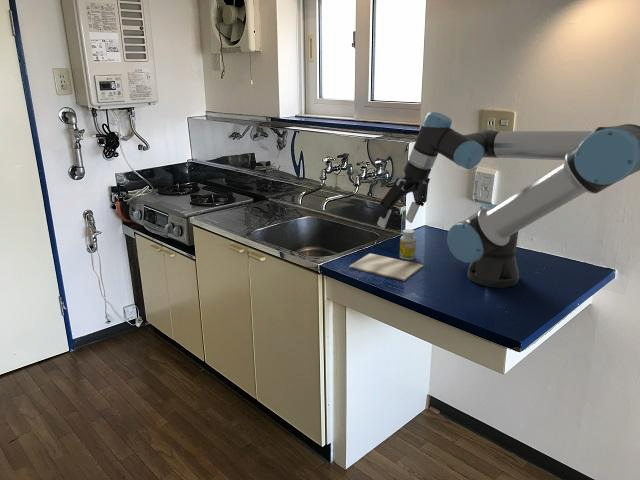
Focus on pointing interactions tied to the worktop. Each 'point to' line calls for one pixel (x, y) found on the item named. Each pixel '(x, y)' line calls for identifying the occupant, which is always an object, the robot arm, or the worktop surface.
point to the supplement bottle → (407, 245)
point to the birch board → (386, 266)
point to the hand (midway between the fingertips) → (394, 223)
